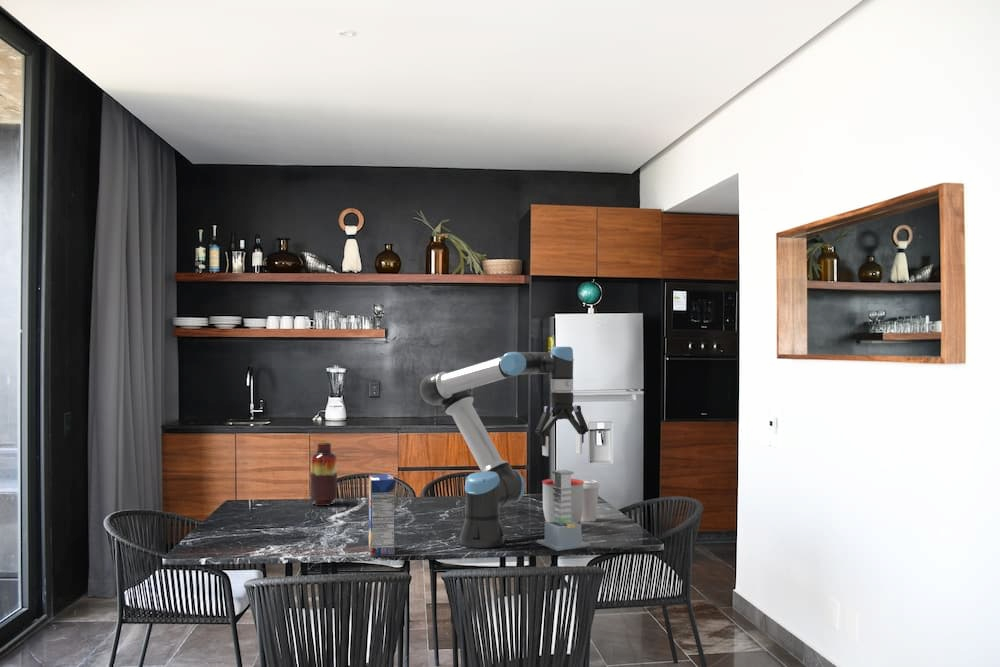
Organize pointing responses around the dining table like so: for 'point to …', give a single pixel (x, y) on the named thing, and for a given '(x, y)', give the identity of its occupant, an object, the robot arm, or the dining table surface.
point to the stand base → (562, 536)
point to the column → (562, 497)
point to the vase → (323, 475)
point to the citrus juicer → (576, 498)
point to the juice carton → (381, 515)
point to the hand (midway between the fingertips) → (562, 454)
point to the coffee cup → (590, 500)
